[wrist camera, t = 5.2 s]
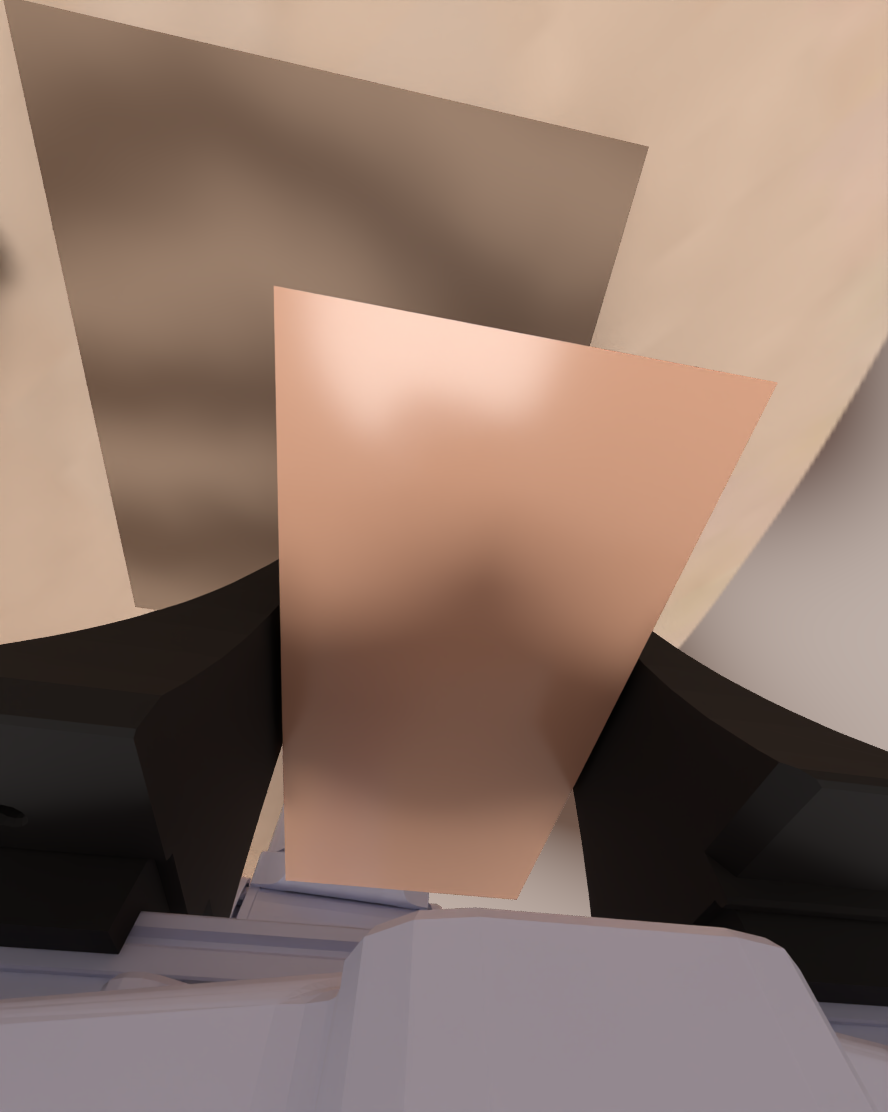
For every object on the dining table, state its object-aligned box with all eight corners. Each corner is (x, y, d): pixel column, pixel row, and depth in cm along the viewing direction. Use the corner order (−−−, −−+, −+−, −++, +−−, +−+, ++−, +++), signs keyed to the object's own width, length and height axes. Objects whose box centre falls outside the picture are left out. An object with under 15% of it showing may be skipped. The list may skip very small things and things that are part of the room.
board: (495, 642, 24) (505, 696, 20) (147, 596, 22) (92, 645, 19) (635, 158, 14) (699, 101, 11) (33, 18, 13) (-125, -101, 9)
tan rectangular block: (491, 707, 16) (516, 899, 10) (340, 688, 15) (285, 880, 10) (602, 354, 10) (777, 382, 5) (366, 309, 10) (273, 286, 4)
